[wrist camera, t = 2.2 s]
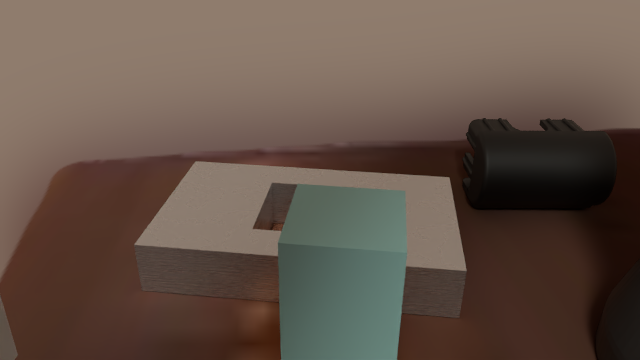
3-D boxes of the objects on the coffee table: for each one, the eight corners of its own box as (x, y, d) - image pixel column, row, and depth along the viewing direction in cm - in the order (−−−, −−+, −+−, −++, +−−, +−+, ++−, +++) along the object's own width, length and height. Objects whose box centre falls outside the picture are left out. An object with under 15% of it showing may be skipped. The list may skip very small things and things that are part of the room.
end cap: (476, 226, 44) (489, 146, 41) (455, 184, 50) (465, 112, 47) (603, 226, 44) (626, 147, 41) (566, 184, 50) (584, 112, 47)
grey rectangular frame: (444, 216, 45) (449, 177, 43) (459, 318, 34) (466, 271, 33) (199, 199, 47) (195, 161, 45) (141, 290, 36) (134, 244, 35)
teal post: (386, 397, 29) (405, 190, 23) (384, 478, 25) (407, 252, 19) (299, 388, 29) (297, 183, 24) (284, 466, 25) (277, 243, 20)
